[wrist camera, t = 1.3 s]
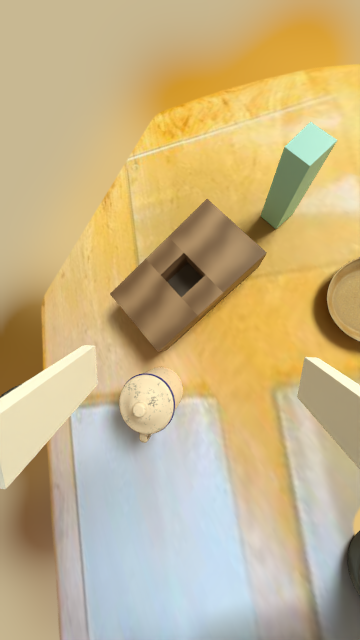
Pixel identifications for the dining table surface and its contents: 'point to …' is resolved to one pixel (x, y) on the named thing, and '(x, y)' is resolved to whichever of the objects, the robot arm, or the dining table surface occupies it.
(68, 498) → the dining table surface
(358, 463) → the robot arm
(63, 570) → the dining table surface
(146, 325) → the hole board
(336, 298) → the plant saucer
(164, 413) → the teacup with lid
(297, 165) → the peg
